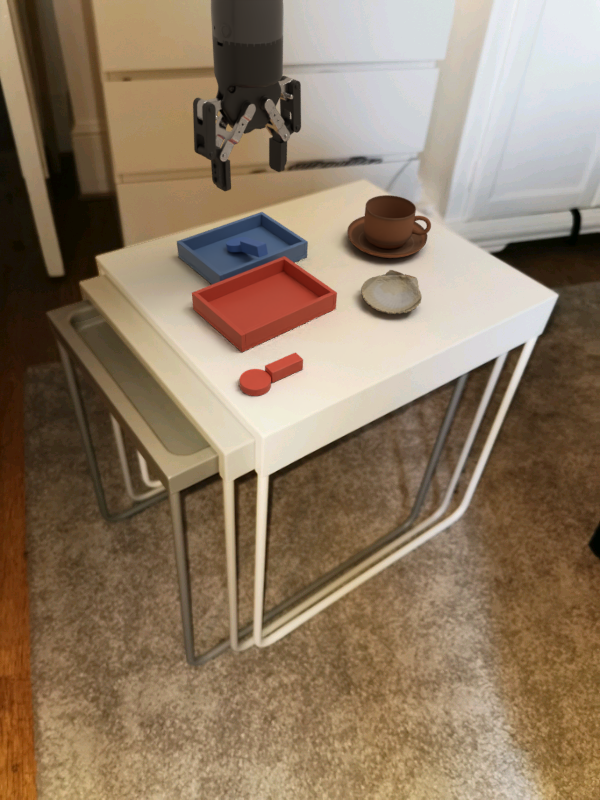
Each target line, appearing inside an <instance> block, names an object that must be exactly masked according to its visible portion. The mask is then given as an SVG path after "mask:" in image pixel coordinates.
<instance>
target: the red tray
mask: <svg viewBox="0 0 600 800" xmlns="http://www.w3.org/2000/svg"><path fill="white" fill-rule="evenodd" d="M337 300H338V292H337V291H335V290H334V289H332V288H331V287H330V286H328V284H326V283H324V282H323V281H321V280H320V279H318V278H317V277H316V276H314V275H313V274H311V273H310V272H308V271H307V270H306V269H304V268H302V267H301V266H300V265H298V264H297V263H296V262H292V261H291V260H290V259H288V258H287V257H285V256H284V257H282V258H279V259H276V260H273V261H271V262H268V263H266V264H263V265H261V266H258V267H256V268H253V269H251V270H248V271H246V272H243V273H240V274H238V275H235V276H233V277H230V278H228V279H225V280H223V281H220V282H218V283H215V284H210V285H207V286H204V287H202V288H200V289H198V290H195V291H193V292H191V301H192V309H193V311H195V312H196V313H197V314H198V315H199V316H200V317H202V318H203V319H204V320H205V321H206V322H207V323H208V324H209V325H211V326H212V327H213V328H214V329H215V330H216V331H217V332H218V333H219V334H221V335H222V336H223V337H224V338H225V339H226V340H227V341H228V342H230V343H231V344H232V345H233V346H234V347H235V348H237V349H238V351H240V352H241V353H243V352H246V351H248V350H250V349H253V348H254V347H257V346H258V345H261V344H263V343H265V342H267V341H269V340H272V339H274V338H276V337H279V336H280V335H283V334H285V333H287V332H289V331H291V330H294V329H295V328H298V327H299V326H302V325H303V324H304V325H305V324H306V323H309V322H310V321H313V320H315V319H317V318H320V317H321V316H323V315H325V314H328V313H330V312H332V311H335V310H337Z"/></svg>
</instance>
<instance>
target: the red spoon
mask: <svg viewBox="0 0 600 800" xmlns="http://www.w3.org/2000/svg"><path fill="white" fill-rule="evenodd" d="M302 370H304V359H303V358H302V356H301V355H299V354H298V353H297V352H292V353H291V354H289V355H286V356H284V357H281V358H279V359H277V360H274V361H272V362H270V363H267V364H266V365H264V370H263V369H261V368H250V369H247V370H246V371H243V372H242V373H241V374H240V376H239V388H240V390H241V392H242V393H244V394H246V395H248V396H252V397H258V396H259V397H260V396H262V395H265V394H267V393H268V392H269V391H270V389H272V383H273V384H274V383H276V382H278V381H279V380H283V379H284V378H287V377H289V376H291V375H293V374H296V373H297V372H300V371H302Z"/></svg>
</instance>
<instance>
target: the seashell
mask: <svg viewBox="0 0 600 800" xmlns="http://www.w3.org/2000/svg"><path fill="white" fill-rule="evenodd" d="M360 292H361V297H362V300H364V302H365V303H367V305H368V306H369V307H371V308H372V309H375V310H376V311H377V312H381V313H386V314H387V315H391V314H392V315H397V314H398V315H402V314H407V313H409V312H410V313H411V312H412V311H413V310H416V309H417V307H419V306H420V304H421V303H422V297H423V296H422V293H421V290H420V287H419V279H418V278H417V277H416V276H413V275H410V274H406V273H405V274H404V273H402V272H399V271H397V270H394V269H389V270H388V271H387V272H386V273H385V274H381V275H377V276H372V277H370V278H368V279H366V280H365V281H364V282H363V284H362V285H361V288H360Z"/></svg>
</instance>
